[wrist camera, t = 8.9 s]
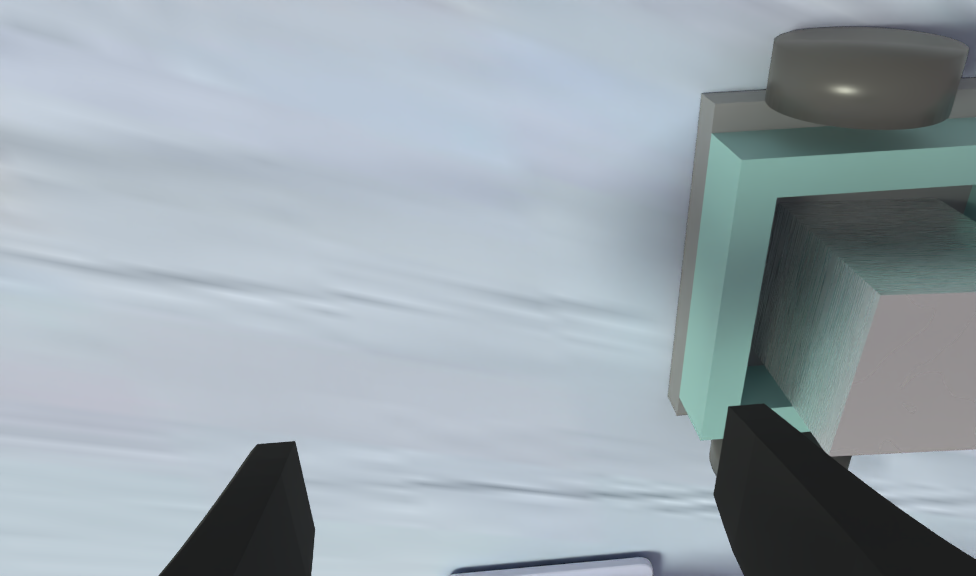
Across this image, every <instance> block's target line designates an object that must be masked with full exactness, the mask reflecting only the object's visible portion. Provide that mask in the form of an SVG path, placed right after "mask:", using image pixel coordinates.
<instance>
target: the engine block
mask: <svg viewBox="0 0 976 576" xmlns="http://www.w3.org/2000/svg"><path fill="white" fill-rule="evenodd" d="M751 347H752V348H753V350H754V351H755V353H756V354H757V356H758V357H759V358H760V360H761V361H762V363H763V364H764V366H765V367H766V368H767V370H768V371H769V373H770V374H771V376H772V377H773V378H774V380H775V381H776V383H777V384H778V386H779V387H780V388H781V390H782V391H783V393H784V394H785V396H786V397H787V398H788V400H789V401H790V403H791V404H792V406H793V407H794V408H795V410H796V411H797V413H798V414H799V416H800V417H801V418H802V420H803V421H804V423H805V424H806V426H807V427H808V428H809V430H810V431H811V433H812V434H813V436H814V437H815V438H816V440H817V441H818V443H819V444H820V446H821V447H822V448H823V450H824V451H825V452H826V453H827V454H828V455H829V456H851V455H871V454H891V453H911V452H930V451H950V450H970V449H976V222H974V221H973V220H971V219H970V218H968V217H966V216H965V215H963V214H962V213H960V212H958V211H957V210H955V209H954V208H952V207H950V206H949V205H947V204H946V203H944V202H942V201H941V200H939V199H938V198H923V199H881V200H838V201H796V202H778V206H777V210H776V215H775V219H774V223H773V228H772V232H771V237H770V241H769V246H768V251H767V257H766V263H765V268H764V274H763V279H762V285H761V291H760V296H759V302H758V308H757V313H756V319H755V325H754V330H753V336H752V342H751Z"/></svg>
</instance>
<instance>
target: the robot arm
mask: <svg viewBox="0 0 976 576" xmlns="http://www.w3.org/2000/svg"><path fill="white" fill-rule="evenodd" d="M714 498H715V501H716V504H717V507H718V510H719V513H720V516H721V519H722V522H723V525H724V528H725V531H726V534H727V537H728V539H729V542H730V545H731V548H732V551H733V553H734V555H735V557H736V559H737V562H738V564H739V566H740V568H741V570H742V572H743V574H744V576H976V559H974V558H973V557H971V556H969V555H968V554H966V553H964V552H963V551H961V550H960V549H958V548H957V547H955V546H954V545H952V544H950V543H949V542H947V541H946V540H944V539H943V538H941V537H940V536H938V535H937V534H935V533H934V532H932V531H931V530H930V529H928V528H927V527H925V526H924V525H922V524H921V523H919V522H918V521H917V520H915V519H914V518H912V517H911V516H909V515H908V514H906V513H905V512H904V511H902V510H901V509H899V508H898V507H897V506H895V505H894V504H892V503H891V502H890V501H888V500H887V499H886V498H884V497H883V496H881V495H880V494H879V493H877V492H876V491H875V490H873V489H872V488H871V487H869V486H868V485H867V484H865V483H864V482H863V481H861V480H860V479H859V478H858V477H856V476H855V475H854V474H852V473H851V472H850V471H848V470H847V469H846V468H845V467H843V466H842V465H841V464H840V463H838V462H837V461H836V460H834V459H833V458H832V457H831V456H829V455H828V454H827V453H826V452H824V451H823V450H822V449H821V448H819V447H818V446H817V445H816V444H814V443H813V442H812V441H811V440H809V439H808V438H807V437H806V436H805V435H803V434H802V433H801V432H800V431H798V430H797V429H796V428H795V427H793V426H792V425H791V424H790V423H788V422H787V421H786V420H785V419H783V418H782V417H781V416H780V415H778V414H777V413H776V412H775V411H773V410H772V409H771V408H769V407H768V406H767V405H765V404H764V403H762V404H750V405H738V406H728V411H727V417H726V423H725V429H724V435H723V441H722V447H721V453H720V459H719V465H718V471H717V477H716V483H715V489H714ZM314 536H315V527H314V523H313V518H312V514H311V509H310V505H309V500H308V496H307V492H306V487H305V483H304V478H303V474H302V469H301V465H300V460H299V456H298V452H297V447H296V443H295V441H292V442H279V443H267V444H257V445H256V446H255V447H254V448H253V450H252V451H251V452H250V454H249V455H248V456H247V458H246V459H245V461H244V462H243V464H242V465H241V467H240V468H239V470H238V471H237V472H236V474H235V475H234V477H233V478H232V480H231V481H230V483H229V484H228V485H227V487H226V488H225V490H224V491H223V492H222V494H221V495H220V497H219V498H218V499H217V501H216V502H215V504H214V505H213V506H212V508H211V509H210V510H209V512H208V513H207V515H206V516H205V517H204V518H203V520H202V521H201V522H200V524H199V525H198V526H197V528H196V529H195V530H194V532H193V533H192V534H191V536H190V537H189V538H188V540H187V541H186V542H185V543H184V545H183V546H182V547H181V549H180V550H179V551H178V553H177V554H176V555H175V556H174V558H173V559H172V560H171V561H170V562H169V564H168V565H167V566H166V567H165V568H164V570H163V571H162V572H161V573H160V574H159V576H311V571H312V560H313V548H314ZM450 576H653V568H652V565H651V562H650V561H649V560H648V559H646V558H643V557H636V558H625V559H614V560H603V561H592V562H581V563H570V564H559V565H548V566H537V567H526V568H515V569H504V570H493V571H482V572H471V573H460V574H453V575H450Z"/></svg>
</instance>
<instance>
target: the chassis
mask: <svg viewBox="0 0 976 576" xmlns="http://www.w3.org/2000/svg"><path fill="white" fill-rule="evenodd" d="M968 52H969V48H968V46H967V45H965V44H964V43H962V42H960V41H957V40H955V39H952V38H948V37H944V36H940V35H935V34H930V33H925V32H918V31H910V30H902V29H891V28H876V27H822V28H810V29H802V30H795V31H790V32H786V33H783V34H781V35H779V36H777V37H776V38H775V39H774V44H773V51H772V57H771V63H770V70H769V76H768V82H767V89H766V90H753V91H736V92H719V93H702V94H701V103H700V112H699V121H698V130H697V139H696V148H695V157H694V166H693V175H692V184H691V192H690V201H689V210H688V219H687V228H686V237H685V246H684V255H683V264H682V273H681V282H680V291H679V300H678V309H677V318H676V326H675V335H674V344H673V353H672V362H671V371H670V380H669V389H668V398H669V400H670V402H671V404H672V406H673V408H674V411H675V413H676V415H677V416H681V415H688V416H689V418H690V420H691V422H692V424H693V426H694V428H695V430H696V432H697V434H698V436H699V438H700V440H711V446H710V453H709V457H710V463H711V466H712V469H713V471H714V473H715V475H716V476H717V471H718V465H719V459H720V453H721V447H722V441H723V435H724V429H725V423H726V417H727V411H728V406H738V405H750V404H762V403H764V404H765V405H767V406H768V407H769V408H771V409H772V410H773V411H775V412H776V413H777V414H778V415H780V416H781V417H782V418H783V419H785V420H786V421H787V422H788V423H790V424H791V425H792V426H793V427H795V428H796V429H797V430H798V431H800V432H801V433H802V434H803V435H805V436H806V437H807V438H808V439H809V440H811V441H812V442H813V443H814V444H816V445H817V446H818V447H819V448H821V449H822V450H823V448H822V447H821V446H820V444H819V443H818V441H817V440H816V438H815V437H814V436H813V434H812V433H811V431H810V430H809V428H808V427H807V426H806V424H805V423H804V421H803V420H802V418H801V417H800V416H799V414H798V413H797V411H796V410H795V408H794V407H793V406H792V404H791V403H790V401H789V400H788V398H787V397H786V396H785V394H784V393H783V391H782V390H781V388H780V387H779V386H778V384H777V383H776V381H775V380H774V378H773V377H772V376H771V374H770V373H769V371H768V370H767V368H766V367H765V366H764V364H763V363H762V361H761V360H760V358H759V357H758V356H757V354H756V353H755V351H754V350H753V348H752V347H751V342H752V336H753V330H754V325H755V319H756V313H757V308H758V302H759V296H760V291H761V285H762V279H763V274H764V268H765V263H766V257H767V251H768V246H769V241H770V237H771V232H772V228H773V223H774V219H775V215H776V210H777V206H778V202H796V201H838V200H881V199H923V198H938V199H939V200H941V201H942V202H944V203H946V204H947V205H949V206H950V207H952V208H954V209H955V210H957V211H958V212H960V213H962V214H963V215H965V216H966V217H968V218H970V219H971V220H973V221H974V222H976V78H961V76H962V73H963V70H964V66H965V63H966V59H967V56H968ZM823 451H824V450H823ZM824 452H825V451H824ZM831 457H832V458H833V459H834V460H836V461H837V462H838V463H840V464H841V465H842V466H843V467H845V468H846V469H847V470H848V467H849V464H850V460H851V457H852V455H851V456H831Z"/></svg>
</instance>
